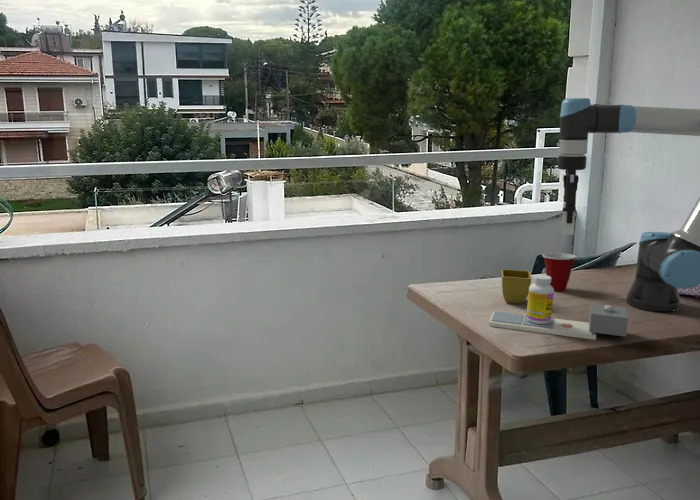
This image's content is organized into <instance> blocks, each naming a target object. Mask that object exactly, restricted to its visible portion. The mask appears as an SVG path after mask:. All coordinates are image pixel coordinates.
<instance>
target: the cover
mask: <svg viewBox="0 0 700 500" xmlns="http://www.w3.org/2000/svg"><path fill="white" fill-rule="evenodd" d="M588 316H589V317H588V318H589V319H588V323H589V332H594V333H596V334H602V335H611V336H617V337H618V336H619V337H627V331H628V323H629V315H628V311H627V308H626V307H622V306H614V305H611V304H605V305H604V304H597V303H596V304H595V303H590V307H589V315H588Z"/></svg>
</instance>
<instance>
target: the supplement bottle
mask: <svg viewBox="0 0 700 500" xmlns="http://www.w3.org/2000/svg"><path fill="white" fill-rule="evenodd" d="M532 279H533V283H531V284H530V287H529V293H528V296H527V297H528V298H527V308H526V315H527V317H526V318H527V320H528V321H529V322H531V323H535V324H548V323H550V321H551V318H552V314H553V303H554V294H555V291H554V289H553V287H552V286H551V285H550V283H551V277H550V276H547V275H546V274H534V275H533V278H532Z"/></svg>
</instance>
